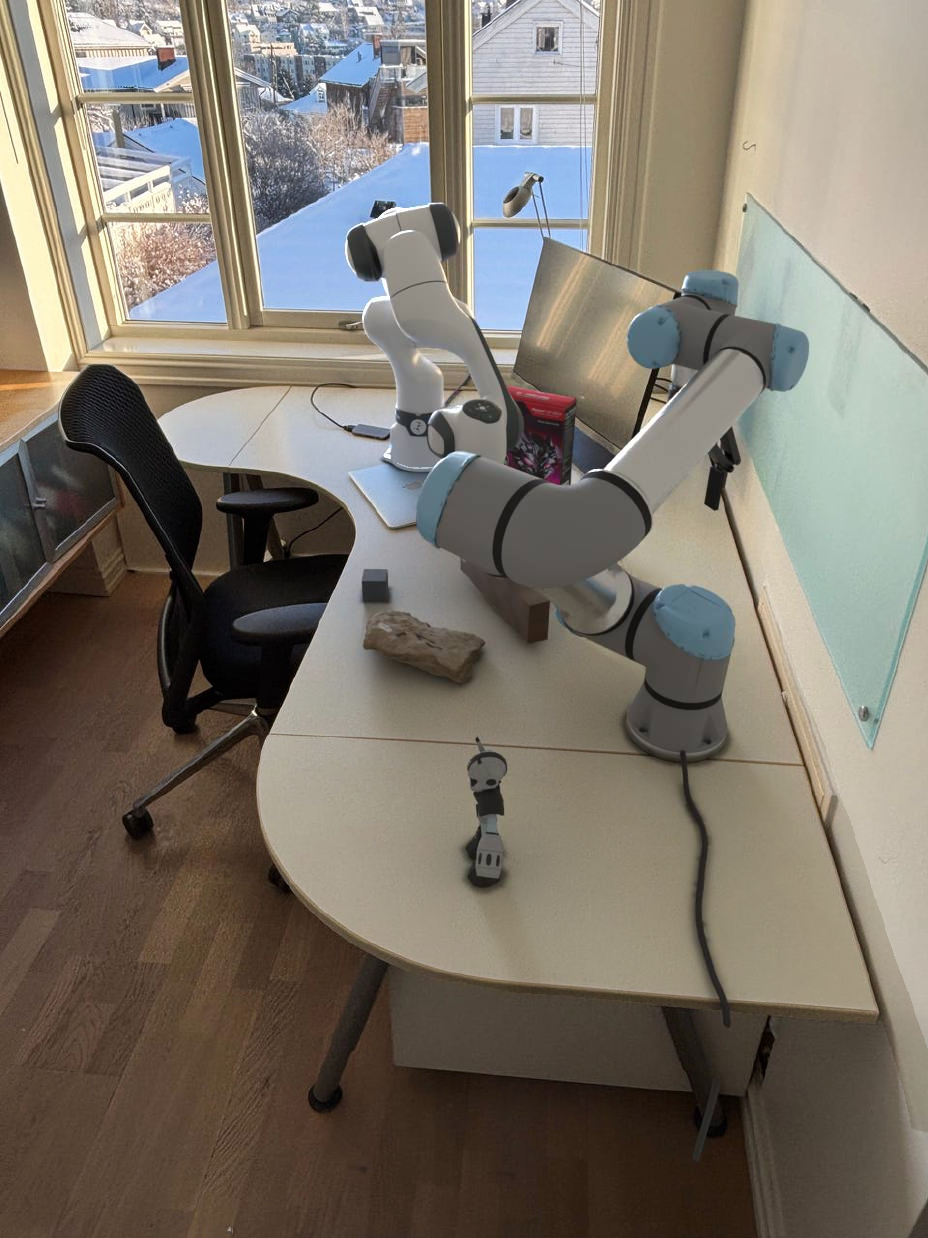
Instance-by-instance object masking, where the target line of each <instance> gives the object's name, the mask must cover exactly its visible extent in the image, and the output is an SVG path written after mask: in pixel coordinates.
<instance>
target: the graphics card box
mask: <svg viewBox="0 0 928 1238" xmlns="http://www.w3.org/2000/svg"><path fill="white" fill-rule="evenodd" d="M505 385H506V387H507V389H508V391H509V393H510V395H511V396H512V398H513V399H514V401H515V402H516V404H517V406H518V407H519V409H520V411H521V413H522V416H523V420H524V431H523V434H522V436H521V438H520V440H519V442H518V443H517V445H516V446H515V447H514V448H513V449H512V450H511V451H506V458H505V461H504V465H506V466H508V467H511V468H514V469H516V470H519V471H522V472H524V473H527V474H530V475H532V476H535V477H538V478H540V479H543V480H546V481H548V482H551V483H553V484H556V485H561V486H567V485H572V470H573V469H572V468H573V454H574V443H575V442H574V441H575V429H576V414H577V403H578V399H577V397H576V396H575V397H574V396H567V395H566V396H565V395H561V394H555V393H549V392H545V391H539V390H536V389H535V390H534V389H530V388H523V387H518V386H513V385H510V384H505Z"/></svg>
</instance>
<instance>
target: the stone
mask: <svg viewBox="0 0 928 1238" xmlns="http://www.w3.org/2000/svg"><path fill="white" fill-rule="evenodd" d="M366 623H367V624H366V625H365V629H366V632H365V634H364V638H363V642H362V648H363V649H364V650H365V651H368V650H370V651H377V652H379V653H380V654H382V656H383V657H384V658H386V659H388V660H389V659H390V660H395V661H396V662H397V663H403V664H408V665H410V666H413V667H415V668H417V669H420V670H421V671H426V672H427V673H429V674H431V675H433V676H437V677H446V678H449V679H450V680H452V681H453V682H454V683H459V684H464V683H467V681H468V680H469V679H470V676H471V675H472V672H473V670H474V669H473V668H474V667H473V666H474V664H475V662H476V661H477V658H478V656H479V654H480V653H481V651H482V648H483V647H484V646H485V645H486V641H485V640H484V639H483V638H481V637H480V636H477V635H476V634H474V633H470V632H465V631H464V632H463V631H457V630H451V629H448V628H446V627H434V626H431V625H430V623H428V622H426V621H421V620H420V619H419V618H418V617H416V616H413V615H412V613H410V612H405V611H400V610H387V609H386V610H382V611H380V612H377V613H376V614H374V615H373V616H371V617H369V618H368V620H367V622H366Z"/></svg>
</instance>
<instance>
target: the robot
mask: <svg viewBox="0 0 928 1238" xmlns="http://www.w3.org/2000/svg"><path fill="white" fill-rule="evenodd" d="M474 740H475V743H476V746H477V748H478V750H479V751H478V752H477V753H475V755H473V756H472V757H471V758H470V759H469V761H468V762H467V765H466V770H467V776H468V779H469V781H470V782H469V789H470V791H472V792H473V793H472V794H473V796H474V799H475V801H476V804H475V814H476V819H477V820H478V827H477V828H476V831H475V833H474V835H473V836H472V838H471V839H470V841H469V842H468V843H467V845H466V847H465V851H466V853H467V855H468V857H469V858H470V859H472V860H474V861H473V862H472V864H471V866H470V868H469V871H468V874H467V877H466V878H467V879H468V880H469V882H470V883H472V885H473V886H476V887H479V888H486V887H491V886H492V885H494V884H496V883H498V882H500V880H501V877H502V873H503V872H502V867H503V866H502V865H503V859H504V849H505V847H504V843H503V838H502V836H501V835H500V833H498V825H497V824H498V816H501V817H504V816H505V804H504V803H505V801H504V797H503V795H502V793H501V785H500V784H501V783H502V779H503V778H504V777H506V775H507V773H508V762H507V759H506V758H505V757H504V756H503V755H502V754H501V753H499V752H497V751H495V750H492V749H485V747H484V745H483V743H482V741H481V739H480V738H479V736H476V737H475V739H474Z"/></svg>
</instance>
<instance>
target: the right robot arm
mask: <svg viewBox="0 0 928 1238" xmlns="http://www.w3.org/2000/svg"><path fill="white" fill-rule="evenodd" d="M739 283H740V282H739V279H738V278H737V276H735V275H734V274H732V273H730V272H726V271H722V270H715V269H714V270H713V269H697V270H693V271H691V272H689V273H687V274H686V275H685V277H684V278H683V284H682V287H681V289H680V293H681V295H680V296H678V297H676V298H675V299H672V300H669V301H666V302H663V303H660V304H656V305H653V306H650V307H648V308H647V309H646V310H644V311H642V312H640V313H638V314H637V315H636V316H635V317H634V318H633V319H632V321H631V322H630V324H629V326H628V328H627V332H626V346H627V350H628V352H629V354H630V357H631V358H632V360H633V361H634V362H635V363H636V364H638V365H639V366H640V367H642V368H645V369H649V370H656V369H661V368H666V367H669V366H670V365H671V372H670V381H671V383H669V386H668V392H667V399H666V404H665V405H664V406H663V407H662V408H661V409H660V410H659V411H657V413H656V414H655V415H654V416H653V417H652V418H651V419H649V420H648V421H647V424H645V425H644V426H643V427H642V429H640V431H638V432H637V434H636V435H635V436H633V438H632V439H630V441H629V442H628V443H627V444H626V445H625V446H624V447H623V448H622V449H621V450H620V451H619V452H618V453H617V454H616V455H615V456H614V457H613V458H612V459H611V461H609V462H608V464H607V465H606V466H605V467H604V468H597V469H592V470H590V471H588V472H587V473H585V474H584V475H583V476H582V477H581V478H580V479H579V480H578V481H577V482H575V483H573V484H571V485H567V486H561V485H556V484H553V483H551V482H548V481H546V480H543V479H540V478H538V477H535V476H532V475H530V474H527V473H524V472H522V471H519V470H516V469H514V468H511V467H508V466H506V465H503V464H500V463H498V462H495V461H492V460H490V459H487V458H484V457H482V455H480V454H473V453H469V452H464V451H457V452H453V453H451V454H449V455H448V456H447V457H446V458H443V459H441V460H440V461H439V462H438V463H437V464H436V465H435V466H434V468H433V469H432V470H431V471H429V473H428V474H427V477H426V478H425V480H424V482H423V484H422V486H421V488H420V492H419V494H418V498H417V502H416V515H415V522H416V528H417V530H418V533H419V535H420V536H421V538H422V539H423V540H425V541H426V542H428V543H429V544H431V545H432V544H433V545H432V547H434V548H435V549H437V548H438V549H437V550H440V549H442V550H444V551H446V552H448V553H451V554H453V555H455V556H456V557H458V558H460V559H461V558H462V559H464V560H465V561H467V562H468V563H470V564H472V565H473V566H475V567H476V568H478V569H480V570H481V571H483V572H484V573H486V574H488V575H490V576H492V577H495V578H500V579H511V580H512V581H514V582H516V583H518V584H521V585H524V586H527V587H529V588H531V589H532V590H534V591H535V592H537V593H538V594H540V595H541V596H543V597H544V598H546V599H547V600H549V601H550V603H552V604H553V605H554V607H555V610H554V614H555V617H556V619H557V621H558V623H559V624H560V625H561V626H562V627H563V628H564V629H566V630H568V632H570V633H571V634H572V635H575V636H577V637H579V638H583V639H586V640H588V641H590V642H592V643H595V644H597V645H599V646H601V647H603V648H605V649H608V650H609V651H612V652H613V653H616V654H618V655H620V656H622V657H623V658H626V659H629V660H631V661H632V662H635V663H637V664H639V665H641V666H643V667H644V670H645V671H644V677H643V682H642V684H641V685H640V688H639V689H638V691H637V692H636V694H635V695H634V697H633V699H632V701H631V702H630V704H629V705H628V707H627V711H626V719H625V728H626V732H627V734H628V736H629V738H630V739H631V741H632V742H634V744H636V745H637V746H638V747H639V748H640V749H641V750H643V751H645V752H646V753H648V754H650V755H651V756H654V757H656V758H659V759H662V760H666V761H670V762H675V763H680V766H681V773H682V787H683V793H684V797H685V801H686V804H687V806H688V808H689V810H690V812H691V813H692V815H693V818H694V819H695V822H696V823H697V826H698V828H699V831H700V836H701V849H700V851H701V852H700V857H699V862H698V863H699V864H698V870H697V871H698V872H697V884H696V892H695V903H694V917H695V925H696V931H697V937H698V940H699V944H700V948H701V952H702V955H703V959H704V962H705V965H706V969H707V972H708V975H709V978H710V981H711V983H712V985H713V988H714V990H715V992H716V994H717V996H718V999H719V1002H720V1006H721V1013H722V1024H723V1026H724V1027H725V1028H731V1026H732V1024H731V1023H732V1021H731V1013H730V1012H731V1011H730V1007H729V1002H728V998H727V996H726V993H725V990H724V988H723V986H722V984H721V982H720V980H719V977H718V974H717V972H716V968H715V965H714V961H713V959H712V956H711V953H710V950H709V946H708V942H707V938H706V935H705V928H704V922H703V896H704V887H705V879H706V878H705V877H706V876H705V875H706V865H707V858H708V852H709V851H708V850H709V839H708V832H707V827H706V825H705V822H704V820H703V818H702V816H701V814H700V812H699V811H698V809H697V807H696V805H695V803H694V801H693V798H692V795H691V791H690V783H689V781H690V780H689V769H688V763H694V762H700V761H703V760H706V759H709V758H711V757H714V755H716V754H718V752H720V751H721V750H722V748H723V747H724V744H725V743H726V740H727V739H726V738H727V734H728V721H727V716H726V712H725V708H724V707H725V706H724V701H723V692H724V687H725V682H726V678H727V674H728V669H729V664H730V659H731V654H732V652H733V649H734V646H735V632H736V617H735V615H734V614H733V609H732V607H730V605H729V603H727V601H725V599H723V597H721V596H720V595H718V594H717V593H715V592H713V591H711V590H709V589H708V588H705V587H702V586H699V585H695V584H690V585H689V586H688V585H686V584H685V583H676V584H671V585H668V586H665V587H664V588H662V587H660V586H657V585H654V584H652V583H650V582H648V581H644V580H642V579H640V578H638V577H635V576H633V575H632V574H630V573H629V572H628V571H627V570H626V569H624V568H623V567H622V566H621V565H620V564H618V563H619V562H620V561H621V560H623V559H624V558H626V557H627V556H628V555H630V553H632V552H633V551H634V550H635V549H636V548H638V546H639V545H640V544H641V543H642V541H643V540H644V539H645V538H646V537H647V536H648V535H649V534H650V532H651V531H652V529H653V526H654V514H655V513H656V512H657V510H658V509H659V508H660V507H661V506H662V505H663V504H664V502H666V500H667V499H669V497H670V496H671V495H672V494H673V492H675V490H677V488H678V487H679V486H680V485H681V484H682V483H683V481H684V480H685V479H686V478H687V477H688V476H689V475H690V474H691V472H693V470H694V469H695V468H696V467H697V466H698V464H700V463H701V461H702V460H703V459H704V458H705V457H706V455H708V456H709V457H710V459H711V461H713V463H714V465H712V466H710V467H709V472H708V478H707V484H706V490H705V496H704V502H703V504H704V505H705V506H706V507H708V508H710V509H711V510H712V511H714V512H716V511H719V510H720V509H719V508H720V504H721V503H720V502H721V497H722V493H723V489H724V488H725V487H726V485H727V478H728V474H732V473H733V472H734V471H735V466H739V465H740V464H741V462H742V457H741V455H740V451H739V450H740V449H739V447H738V443H737V438H736V435H735V432H734V428H733V425H734V424H735V423H736V422H737V421H738V419H739V418H740V417H741V416H742V415H743V414H744V413H745V412H746V410H747V409H748V408H749V407H750V406H751V405H752V404H753V403H754V401H756V399H758V397H759V396H760V395H761V394H762V393H764V391H766V389H768V390H769V391H770V392H781V393H782V392H787V391H791V390H793V389H794V388H795V387H796V386H797V385H798V383H799V381H801V378H802V377H803V374H804V373H805V370H806V367H807V363H808V360H809V355H810V341H809V338H808V335H807V334H806V332H804V331H802V330H800V329H796V328H793V327H790V326H789V327H788V326H785V325H781V323H777V322H776V323H773V322H769V321H768V322H767V321H764V320H759V319H753V318H748V317H743V316H738V315H736V310H737V308H738V296H739V288H740V287H739V286H740V284H739ZM719 441H720V445H721V447H720V446H719V445H718V442H719ZM721 448H722V449H721ZM721 1082H722V1079H720V1078H716V1077H713V1080H712V1084H711V1088H710V1093H709V1096H708V1101H707V1105H706V1108H705V1112H704V1115H703V1119H702V1122H701V1125H700V1128H699V1131H698V1135H697V1138H696V1142H695V1146H694V1150H693V1153H692V1160H693V1161H694V1162H696V1163H697V1162H699V1161H700V1159H701V1158H700V1157H701V1155H702V1152H703V1151H702V1150H703V1147H704V1143H705V1140H706V1137H707V1133H708V1130H709V1127H710V1124H711V1120H712V1117H713V1114H714V1110H715V1106H716V1103H717V1099H718V1095H719V1091H720V1088H721V1087H720V1086H721Z"/></svg>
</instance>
